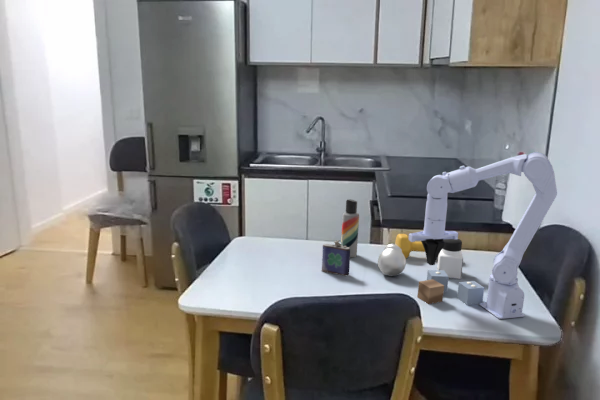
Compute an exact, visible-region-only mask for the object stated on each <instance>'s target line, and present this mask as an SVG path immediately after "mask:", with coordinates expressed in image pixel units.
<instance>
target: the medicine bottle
mask: <svg viewBox="0 0 600 400" xmlns="http://www.w3.org/2000/svg"><path fill="white" fill-rule="evenodd" d="M443 241H444V242H445V246H444V247H443V249H442V250H441V251H440V253H439V255H438V257H437V267H436V270H444V271H445V272H446V274H447V275H448V279H455V280H457V279H459V280H461V279H462V273H463V264H464V256H463V252H462V247H463V241H462V240H461V239H460V238H458V239H443Z"/></svg>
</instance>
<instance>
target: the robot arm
mask: <svg viewBox="0 0 600 400" xmlns="http://www.w3.org/2000/svg"><path fill="white" fill-rule="evenodd" d="M522 173H523V175H524V176H525V177H526V179H528V181H529V182H530V183H531V185H532V187H533V189H534V191H535V193H534V195H533V197H532V199H531V200H530V202H529V204H528V205H527V208H526V210H525V211H524V213H523V215H522V216H521V218H520V220H519V222H518V223H517V226H516V227H515V229H514V231H513V233H512V235H511V236H510V238H509V240H508V242H507V243H506V244H505V246H504V247H503V249H502V250H501V251H500V252H498V253H497V254H496V255H495V256H494V258H493V267H492V268H491V274H490V275H489V280H488V288H487V295H486V296H487V297H486V302H485V301H484V302H482V303H480V304H479V305H480V306H481V307H483V309H485V310H486V311H488V313H490V314H492V315H493V316H494V317H496V318H497V319H499V320H503V319H504V320H505V319H512V318H522V317H525V314H524V313H523V310H524V309H523V308H524V303H525V302H524V301H525V293H524V290H523V289H522V288H521V287H520V286H519V283H518V281H519V278H518V273H519V272H518V268H519V266H520V264H521V262H522V259H523V256H524V254H525V252H526V250H527V248H528V247H529V246H530V243H531V241H532V240H533V238H534V237H535V234H536V233H537V231H538V229H539V227H540V225H541V224H542V222H543V220H544V219H545V217H546V215H547V213H548V212H549V210H550V208H551V206H552V205H553V203H554V201H555V199H556V198H557V196H558V189H557V182H556V175H555V171H554V167H553V165H552V163H551V162H550V159H549V157H548V156H547V154H546V155H545V153H542V152H539V151H534V152H531V153H528V154H527V153H525V154H519V155H514V156H512V157H511V156H510V157H508V158H505V159H502V160H499V161H496V162H493V163H490V164H487V165H484V166H482V167H478V168H474V167H471V166H470V165H469V166H468V165H467V166H465V165H461V166H459V168H458V169H455V170H452V171H450V172H447V171H443V172H442V174H437V175H434V176H433V177H432V178H430V180H428V182H427V185H426V192H427V195H426V203H425V210H424V211H425V213H424V214H425V215H424V224H423V225H424V226H423V230H421V231H416V232H411V233H408V237H409V241H411V242H422V244H423V247H424V249H425V252H424V253H425V258H426V264H428V265H429V266H435V265H436V262H437V261H438V255H439V253H440V251H441V250H442V249H443V247H444V246H445V242H444V241H443V239H459V238H458V237H459V232H458V231H455V230H446V222H447V212H448V211H447V210H448V193H452V194H454V193H459V192H462V191H465V190H468V189H471V188H475V187H476V186H477V185H478V183H479V182H480V181H484V180H487V179H491V178H494V177H500V176H503V175H507V174H512V175H516V176H519V177H522Z"/></svg>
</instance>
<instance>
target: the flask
mask: <svg viewBox="0 0 600 400" xmlns="http://www.w3.org/2000/svg"><path fill="white" fill-rule="evenodd" d="M333 243H334V244H332V243H323V244H322V255H321V256H322V258H321V272H324V273H330V274H334V275H335V274H336V275H339V276H345V277H347V276H350V268H351V267H350V261H351V258H350V248H349V247H346V246H343V245H341V241H340V240H339V239H338V240H335V241H333Z"/></svg>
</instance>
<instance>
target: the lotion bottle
mask: <svg viewBox="0 0 600 400" xmlns="http://www.w3.org/2000/svg"><path fill="white" fill-rule="evenodd" d="M341 219H342V224H341V238H340V239H341V241H340V244H341V245H343V246H346V247H349V248H350V259H351V258H355V257H357V254H358V241H359V226H360V225H359V223H360V213H358V200H355V199H349V198H347V200H346V201H345V211H344V212H343V213H342V218H341Z"/></svg>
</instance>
